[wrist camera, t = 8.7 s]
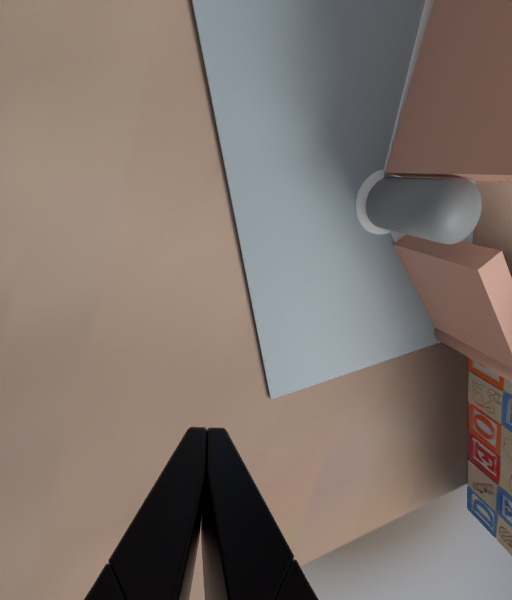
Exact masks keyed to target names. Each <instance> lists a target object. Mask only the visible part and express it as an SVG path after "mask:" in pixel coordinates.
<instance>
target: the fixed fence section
mask: <svg viewBox="0 0 512 600" xmlns="http://www.w3.org/2000/svg"><path fill="white" fill-rule="evenodd" d="M392 245H393V247H394V249H395V251H396V253H397V255H398V257H399V259H400V261H401V263H402V265H403V267H404V269H405V271H406V272H407V274H408V276H409V278H410V280H411V282H412V284H413V286H414V288H415V290H416V292H417V294H418V296H419V298H420V299H421V301H422V303H423V305H424V307H425V309H426V311H427V313H428V315H429V317H430V319H431V321H432V323H433V325H434V326H435V329H434V335H435V337H436V339H437V340H439V341H441V342H442V343H444V344H446V345H448V346H449V347H451V348H453V349H454V350H456V351H458V352H460V353H461V354H463V355H465V356H467V357H468V358H470V359H472V360H474V361H475V362H477V363H479V364H480V365H482V366H484V367H486V368H487V369H489V370H491V371H493V372H494V373H496V374H498V375H499V376H501V377H503V378H505V379H506V380H508V381H510V382H512V277H511V275H510V272H509V269H508V266H507V263H506V261H505V258H504V255H503V252H502V251H501V250H497V249H492V248H488V247H484V246H479V245H475V244H471V243H466V242H462V241H460V242H458V243H455V244H443V243H439V242H435V241H431V240H427V239H423V238H419V237H415V236H411V235H407V234H406V235H405V236H403V237H402V238H401V239H400V240H398V241H397V242H394V243H393V244H392Z"/></svg>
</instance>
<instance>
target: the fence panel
mask: <svg viewBox="0 0 512 600" xmlns="http://www.w3.org/2000/svg"><path fill="white" fill-rule="evenodd" d="M385 173H388V174H392V175H396V176H400V177H386V178H383V179H381V180H380V181H378V182H377V183H376V184H375V185H374V186H373V187H372V188H371V190H370V192H369V194H368V196H367V200H366V213H367V216H368V218H369V220H370V222H371V223H372V224H373V225H375V226H377V227H379V228H383V229H387V230H391V231H395V232H399V233H403V234H407V235H411V236H415V237H419V238H423V239H427V240H431V241H435V242H439V243H443V244H455V243H458V242H460V241H462V240H464V239H465V238H466V237H467V236H469V235H470V233H471V232H472V231H473V230H474V228H475V227H476V225H477V223H478V221H479V219H480V215H481V211H482V197H481V194H480V191H479V189H478V188H477V186H476V185H475V184H474V183H472V182H471V181H492V182H512V0H434V3H433V7H432V10H431V14H430V17H429V21H428V25H427V28H426V32H425V35H424V39H423V42H422V46H421V49H420V53H419V56H418V60H417V63H416V67H415V70H414V74H413V77H412V81H411V84H410V88H409V91H408V95H407V98H406V102H405V105H404V109H403V113H402V116H401V120H400V123H399V127H398V130H397V134H396V137H395V141H394V144H393V148H392V151H391V155H390V158H389V162H388V165H387V169H386V172H385Z"/></svg>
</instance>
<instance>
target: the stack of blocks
mask: <svg viewBox="0 0 512 600" xmlns="http://www.w3.org/2000/svg"><path fill="white" fill-rule="evenodd" d="M468 401H469V431H470V432H469V460H468V487H467V488H468V489H467V500H468V501H467V508H468V510H469V511H470V512H471V513H472V514H473V515H474V516H475V517H476V518H477V519H478V520H479V521H480V522H481V523H482V525H483V526H484V527H485V528H486V529H487V530H488V531H489V532H490V533H491V534H492V535H493V536H494V537H495V538H497V540H498V541H499V543H500V544H501V545H502V546H503V547H504V548H505V549H506V550H507V551H508V552H509V553H510V554H511V555H512V382H510V381H508V380H506V379H505V378H503V377H501V376H499V375H498V374H496V373H494V372H493V371H491V370H489V369H487V368H486V367H484V366H482V365H480V364H479V363H477V362H475V361H474V360H472V359H470V358H469V376H468Z"/></svg>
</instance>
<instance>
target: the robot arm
mask: <svg viewBox="0 0 512 600" xmlns="http://www.w3.org/2000/svg"><path fill="white" fill-rule="evenodd" d="M200 527H201V541H202V558H203V574H204V590H205V600H318V598H317V596H316V594H315V593H314V591H313V589H312V588H311V586H310V585H309V582H308V581H307V579H306V577H305V575H304V573H303V571H302V570H301V568H300V566H299V564H298V562H297V560H294V555H293V553H292V551H291V550H290V548H289V546H288V544H287V542H286V540H285V538H284V537H283V535H282V533H281V531H280V529H279V527H278V525H277V524H276V522H275V520H274V518H273V516H272V514H271V512H270V511H269V509H268V507H267V505H266V503H265V501H264V499H263V497H262V496H261V494H260V492H259V490H258V488H257V486H256V484H255V483H254V481H253V479H252V477H251V475H250V473H249V471H248V470H247V468H246V466H245V464H244V462H243V460H242V458H241V457H240V455H239V453H238V451H237V449H236V447H235V445H234V444H233V442H232V440H231V438H230V436H229V434H228V432H227V431H226V429H224V428H208V430H207V429H206V428H204V427H190V428H189V429H188V430H187V432H186V433H185V435H184V436H183V438H182V440H181V441H180V443H179V445H178V446H177V448H176V450H175V451H174V453H173V455H172V456H171V458H170V460H169V461H168V463H167V465H166V466H165V468H164V470H163V471H162V473H161V475H160V476H159V478H158V479H157V481H156V483H155V484H154V486H153V488H152V489H151V491H150V493H149V494H148V496H147V498H146V499H145V501H144V503H143V504H142V506H141V508H140V509H139V511H138V513H137V514H136V516H135V518H134V519H133V521H132V523H131V524H130V526H129V527H128V529H127V531H126V532H125V534H124V536H123V537H122V539H121V541H120V542H119V544H118V546H117V547H116V549H115V551H114V552H113V554H112V556H111V557H110V559H109V564H106V565H105V567H104V568H103V570H102V572H101V573H100V575H99V577H98V578H97V580H96V582H95V583H94V585H93V587H92V588H91V590H90V591H89V593H88V594H87V596H86V597H85V599H84V600H189V597H190V591H191V585H192V579H193V573H194V567H195V561H196V555H197V549H198V543H199V536H200Z"/></svg>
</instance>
